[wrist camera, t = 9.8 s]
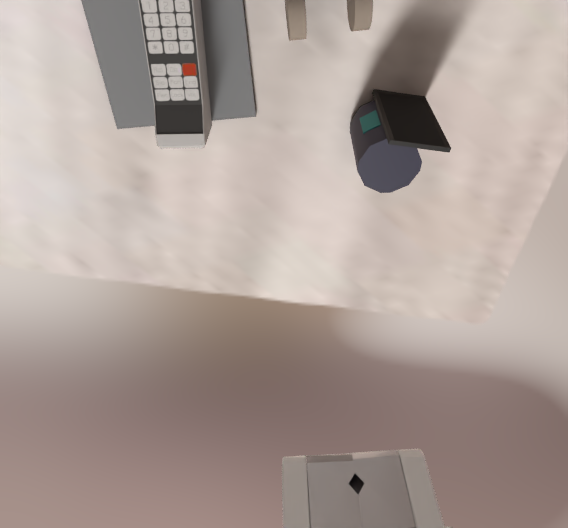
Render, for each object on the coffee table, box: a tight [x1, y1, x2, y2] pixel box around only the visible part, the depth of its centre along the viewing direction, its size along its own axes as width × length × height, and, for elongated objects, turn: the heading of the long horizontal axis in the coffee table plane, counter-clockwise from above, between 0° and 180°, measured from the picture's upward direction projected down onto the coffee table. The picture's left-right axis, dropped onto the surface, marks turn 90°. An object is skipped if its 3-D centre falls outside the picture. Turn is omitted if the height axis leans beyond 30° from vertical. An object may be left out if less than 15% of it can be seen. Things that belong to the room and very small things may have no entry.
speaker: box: [350, 89, 451, 193], centre depth 39 cm, size 6×5×9 cm
